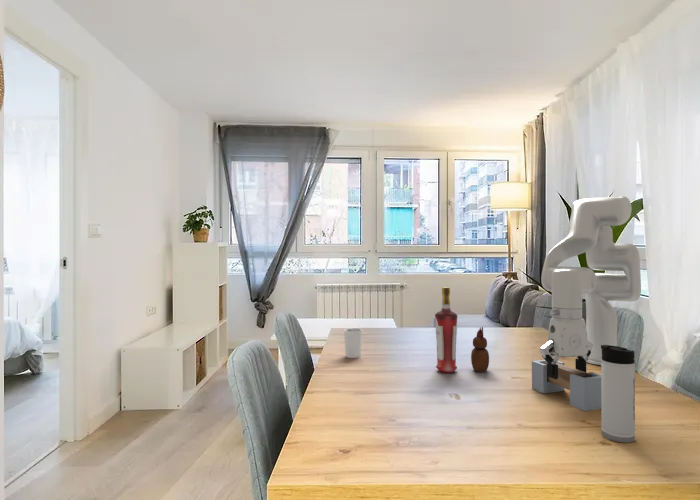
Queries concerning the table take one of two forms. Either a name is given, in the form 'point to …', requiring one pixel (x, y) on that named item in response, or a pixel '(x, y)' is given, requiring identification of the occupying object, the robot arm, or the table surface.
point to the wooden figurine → (480, 353)
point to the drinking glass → (352, 342)
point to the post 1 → (543, 378)
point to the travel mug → (618, 393)
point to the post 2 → (586, 392)
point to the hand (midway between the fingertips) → (567, 376)
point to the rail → (565, 375)
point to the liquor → (446, 335)
